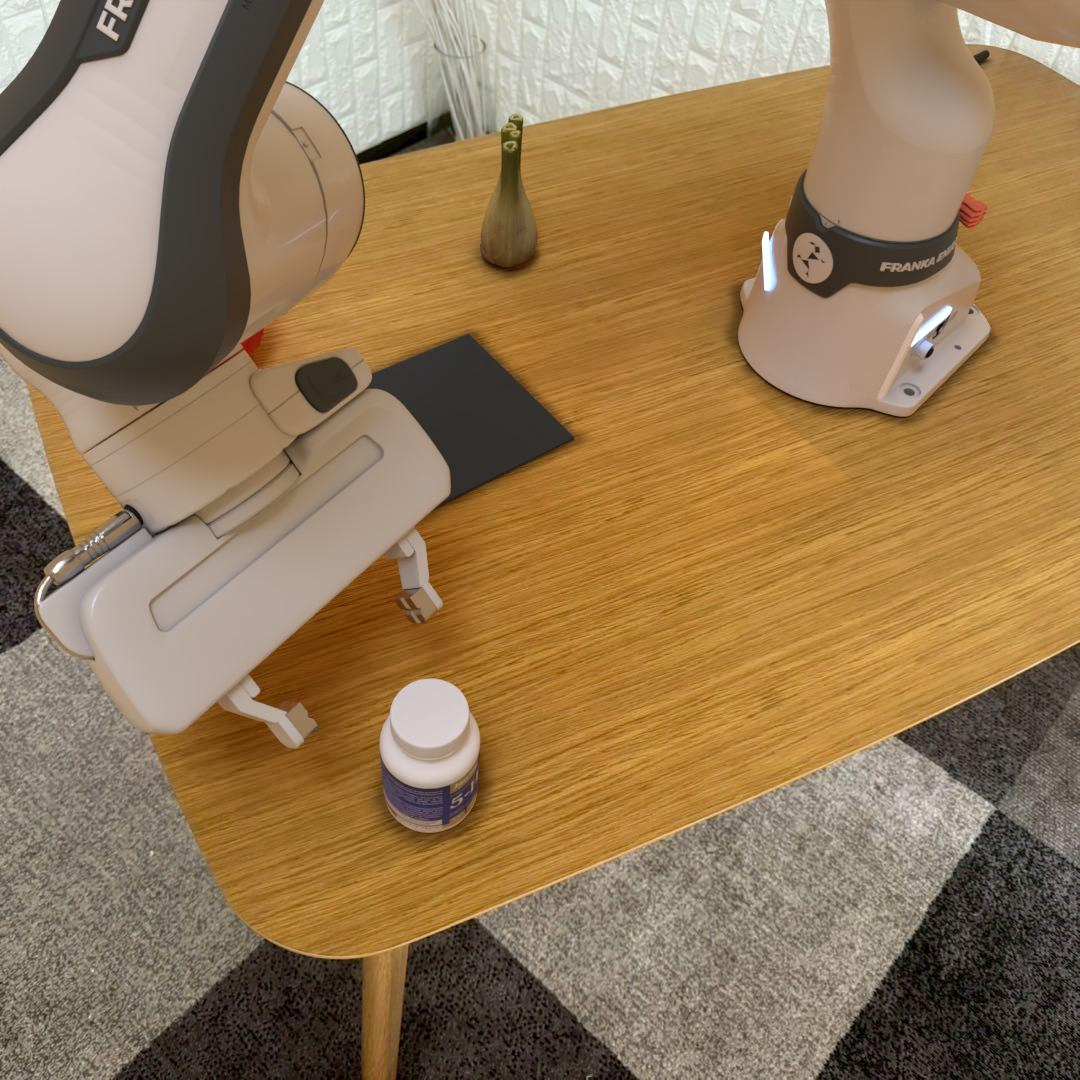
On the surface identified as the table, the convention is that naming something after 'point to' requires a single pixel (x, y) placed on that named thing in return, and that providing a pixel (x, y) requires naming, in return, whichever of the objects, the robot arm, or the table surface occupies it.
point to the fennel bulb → (509, 206)
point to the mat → (472, 412)
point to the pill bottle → (430, 756)
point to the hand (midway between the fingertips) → (369, 674)
